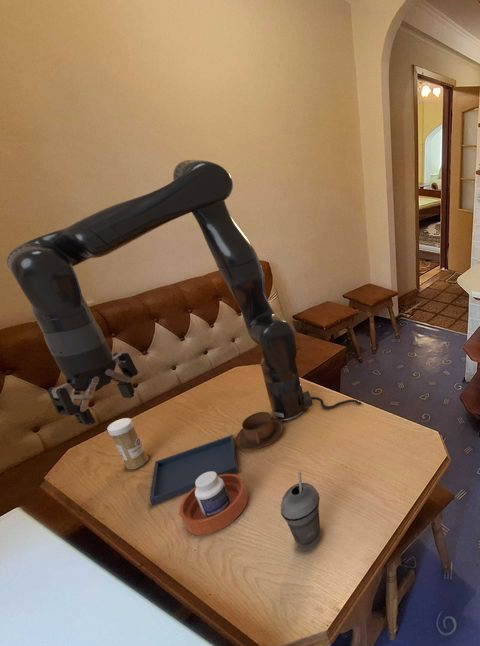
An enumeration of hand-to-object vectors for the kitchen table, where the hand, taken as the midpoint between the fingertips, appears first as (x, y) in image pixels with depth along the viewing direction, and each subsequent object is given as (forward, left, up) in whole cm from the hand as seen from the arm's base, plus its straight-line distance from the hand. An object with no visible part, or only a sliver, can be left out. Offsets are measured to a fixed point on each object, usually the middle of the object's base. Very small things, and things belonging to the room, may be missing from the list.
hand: (110, 409), depth 77 cm
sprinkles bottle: (+3, -12, -25) cm, 28 cm away
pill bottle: (-14, +15, -25) cm, 32 cm away
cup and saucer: (-25, -5, -25) cm, 36 cm away
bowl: (-14, +15, -25) cm, 32 cm away
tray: (-10, -1, -25) cm, 27 cm away
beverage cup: (-30, +34, -25) cm, 52 cm away
